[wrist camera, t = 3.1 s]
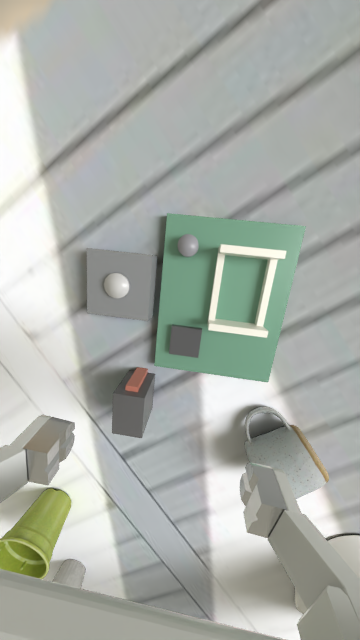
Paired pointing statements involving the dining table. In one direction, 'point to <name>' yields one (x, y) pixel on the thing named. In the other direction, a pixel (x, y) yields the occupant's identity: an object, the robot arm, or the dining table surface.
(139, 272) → the gray push button box
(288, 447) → the ceramic mug
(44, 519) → the plant pot
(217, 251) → the board
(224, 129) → the dining table surface
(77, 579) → the house plant
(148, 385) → the plug
